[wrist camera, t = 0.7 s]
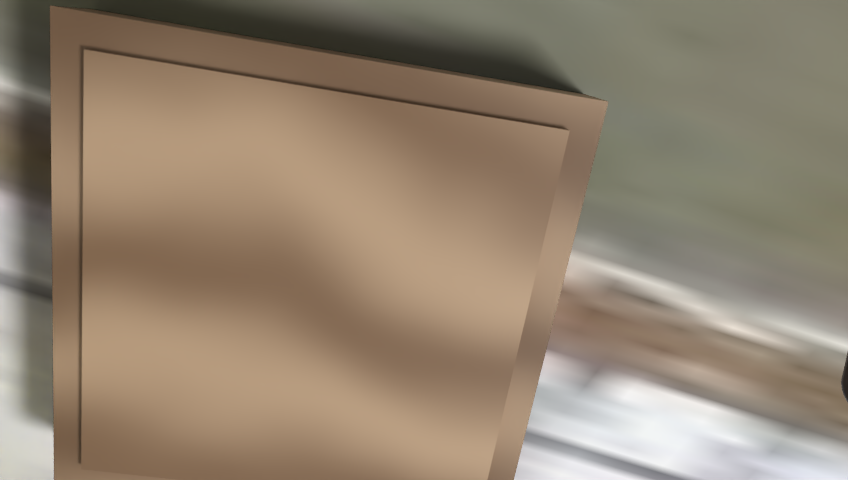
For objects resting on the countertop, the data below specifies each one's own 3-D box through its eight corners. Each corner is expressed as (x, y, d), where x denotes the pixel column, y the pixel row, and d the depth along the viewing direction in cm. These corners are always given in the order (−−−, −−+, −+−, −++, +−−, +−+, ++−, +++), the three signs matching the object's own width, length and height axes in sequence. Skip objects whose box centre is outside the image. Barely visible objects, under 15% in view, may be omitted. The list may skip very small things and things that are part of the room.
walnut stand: (490, 488, 26) (500, 537, 23) (87, 442, 25) (51, 490, 22) (584, 93, 21) (610, 102, 19) (91, 9, 20) (45, 5, 17)
